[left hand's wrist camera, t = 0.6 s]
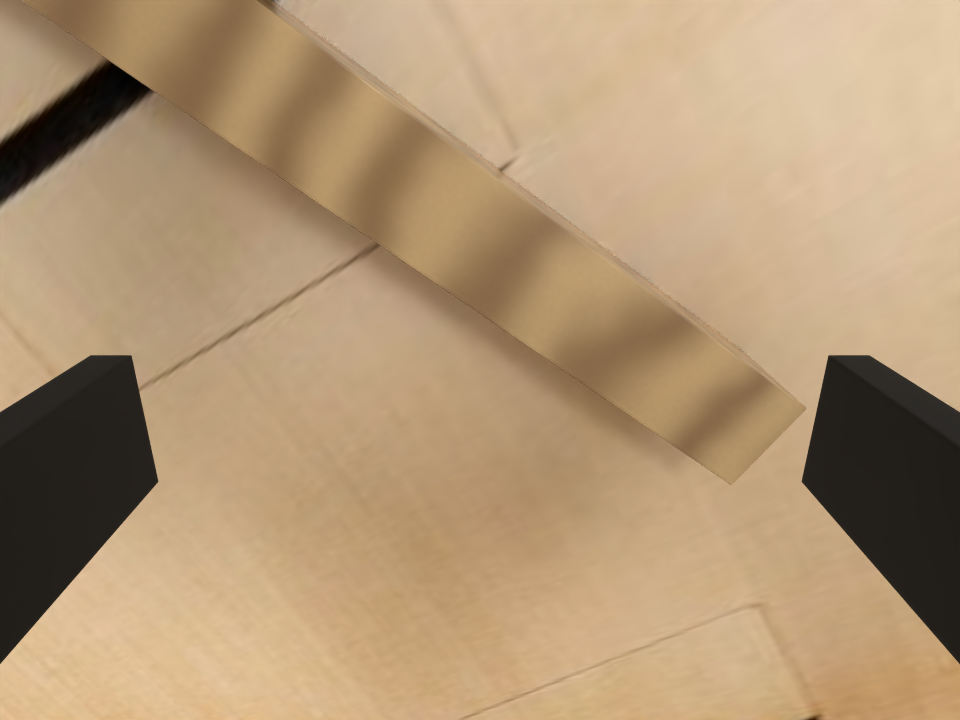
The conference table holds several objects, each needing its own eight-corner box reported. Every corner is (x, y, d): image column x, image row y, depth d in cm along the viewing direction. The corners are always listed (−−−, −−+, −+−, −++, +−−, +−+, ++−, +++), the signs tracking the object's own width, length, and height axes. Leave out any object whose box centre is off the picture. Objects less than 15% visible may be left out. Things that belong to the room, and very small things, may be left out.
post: (-485, -399, 28) (-849, -592, 20) (-467, -551, 26) (-854, -824, 18) (685, 418, 42) (731, 485, 34) (745, 353, 40) (807, 408, 33)
